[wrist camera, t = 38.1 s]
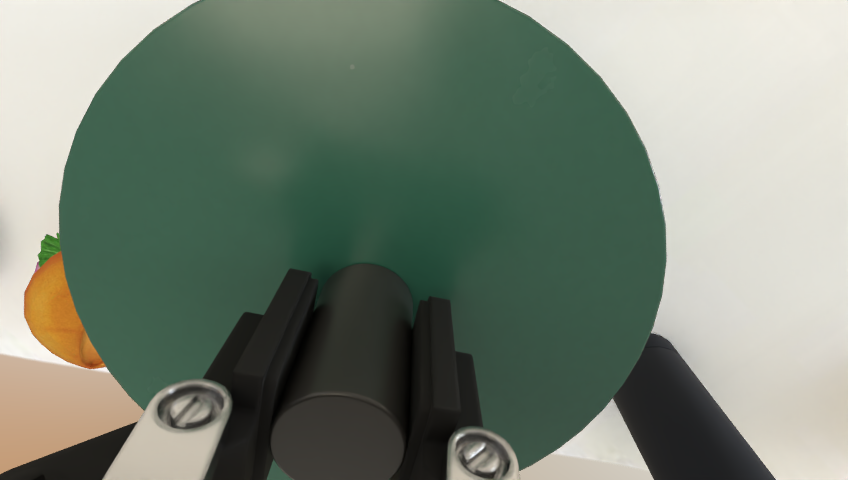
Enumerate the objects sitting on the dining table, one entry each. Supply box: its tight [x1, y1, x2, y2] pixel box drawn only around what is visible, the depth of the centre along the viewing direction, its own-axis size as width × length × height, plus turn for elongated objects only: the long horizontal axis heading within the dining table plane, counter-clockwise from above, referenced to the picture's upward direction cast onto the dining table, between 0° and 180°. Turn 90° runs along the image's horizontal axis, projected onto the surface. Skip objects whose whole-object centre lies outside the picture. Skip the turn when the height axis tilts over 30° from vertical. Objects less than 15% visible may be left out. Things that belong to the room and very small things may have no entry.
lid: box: [59, 0, 666, 480], centre depth 12 cm, size 17×17×6 cm
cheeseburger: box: [24, 233, 106, 369], centre depth 34 cm, size 10×11×10 cm
